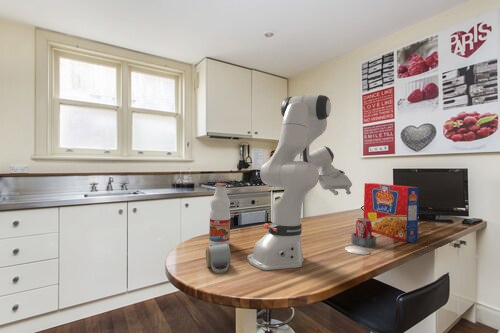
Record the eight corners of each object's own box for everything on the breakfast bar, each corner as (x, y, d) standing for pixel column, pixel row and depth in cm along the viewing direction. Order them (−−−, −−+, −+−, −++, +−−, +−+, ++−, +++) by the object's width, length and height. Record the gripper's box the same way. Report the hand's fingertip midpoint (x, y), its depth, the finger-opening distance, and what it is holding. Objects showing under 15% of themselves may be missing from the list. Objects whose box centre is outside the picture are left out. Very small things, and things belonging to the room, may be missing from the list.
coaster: (359, 256, 105) (359, 255, 105) (339, 248, 114) (339, 247, 114) (375, 252, 110) (375, 252, 110) (355, 245, 119) (355, 245, 119)
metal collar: (365, 248, 115) (365, 239, 115) (346, 241, 125) (347, 233, 125) (380, 245, 120) (380, 237, 120) (361, 239, 130) (361, 231, 130)
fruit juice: (232, 242, 119) (234, 183, 119) (224, 248, 110) (226, 184, 110) (214, 240, 122) (216, 182, 122) (205, 246, 113) (207, 183, 113)
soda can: (373, 246, 118) (373, 221, 118) (357, 245, 120) (357, 220, 120) (369, 242, 125) (369, 218, 125) (354, 241, 127) (354, 217, 127)
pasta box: (363, 229, 152) (364, 183, 152) (373, 228, 155) (374, 183, 155) (406, 242, 126) (407, 187, 126) (417, 241, 129) (418, 187, 129)
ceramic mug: (204, 263, 93) (205, 242, 93) (225, 260, 96) (226, 241, 96) (210, 275, 83) (210, 252, 83) (233, 272, 86) (234, 250, 86)
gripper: (319, 171, 136) (332, 191, 128) (345, 171, 146) (359, 189, 137) (313, 178, 140) (325, 198, 132) (339, 178, 150) (352, 196, 141)
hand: (343, 194), depth 134 cm, fingers open, 8 cm apart
